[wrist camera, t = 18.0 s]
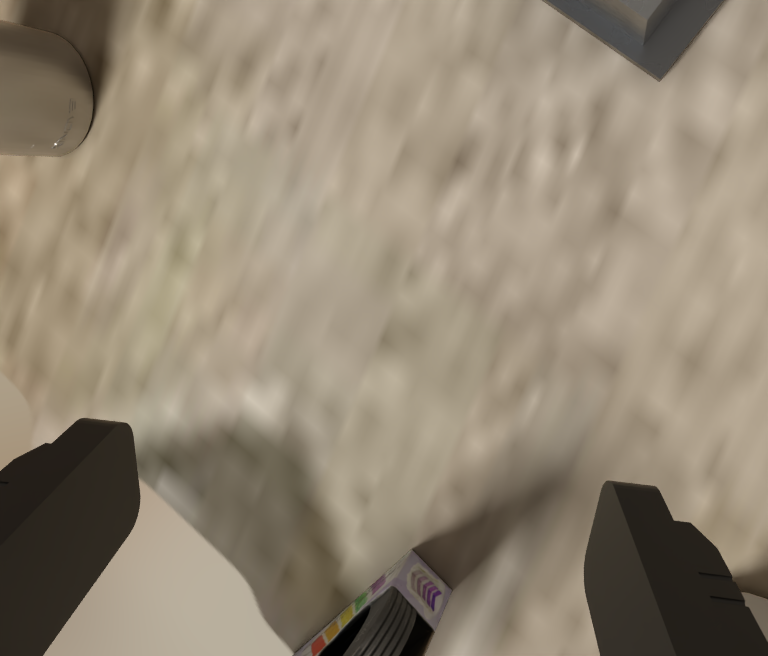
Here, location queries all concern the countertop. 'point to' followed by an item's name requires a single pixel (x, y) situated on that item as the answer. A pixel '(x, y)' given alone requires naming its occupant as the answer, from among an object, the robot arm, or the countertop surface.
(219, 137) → the countertop surface
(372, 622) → the cake pan box
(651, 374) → the countertop surface
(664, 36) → the rack socket
